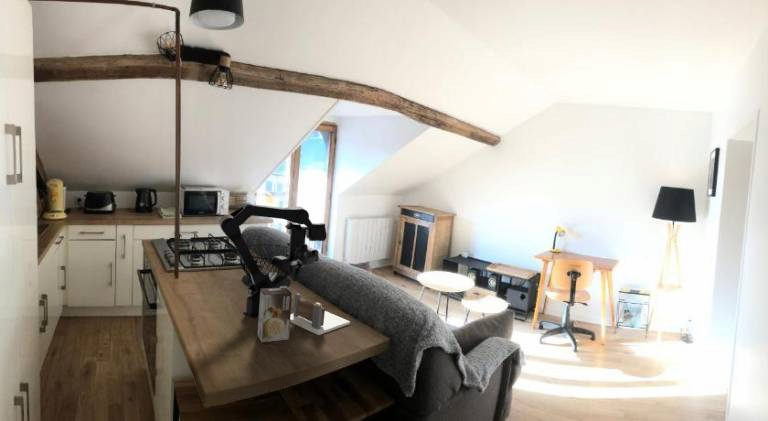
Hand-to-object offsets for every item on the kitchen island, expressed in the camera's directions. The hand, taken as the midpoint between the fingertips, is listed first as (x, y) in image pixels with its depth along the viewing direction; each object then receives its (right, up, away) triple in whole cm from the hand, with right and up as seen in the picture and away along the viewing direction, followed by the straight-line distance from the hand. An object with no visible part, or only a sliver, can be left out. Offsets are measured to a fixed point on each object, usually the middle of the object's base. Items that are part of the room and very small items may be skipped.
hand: (294, 281), depth 173 cm
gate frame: (+9, -14, -5) cm, 18 cm away
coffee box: (-3, -15, -22) cm, 27 cm away
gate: (+8, -13, -9) cm, 17 cm away
